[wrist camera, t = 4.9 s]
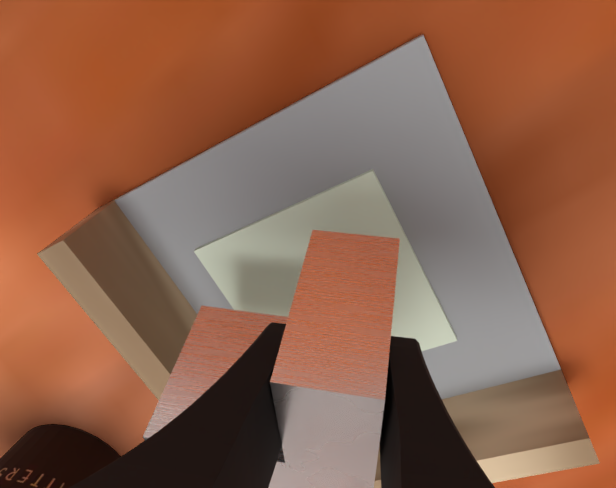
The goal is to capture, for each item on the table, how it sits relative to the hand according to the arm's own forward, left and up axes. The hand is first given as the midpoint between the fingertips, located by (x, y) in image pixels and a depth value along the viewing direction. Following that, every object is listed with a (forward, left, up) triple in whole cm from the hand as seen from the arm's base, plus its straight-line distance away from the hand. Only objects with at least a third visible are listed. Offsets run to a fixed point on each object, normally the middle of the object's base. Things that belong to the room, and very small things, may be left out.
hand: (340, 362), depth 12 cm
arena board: (-2, -2, -6) cm, 7 cm away
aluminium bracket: (-2, +1, -3) cm, 3 cm away
